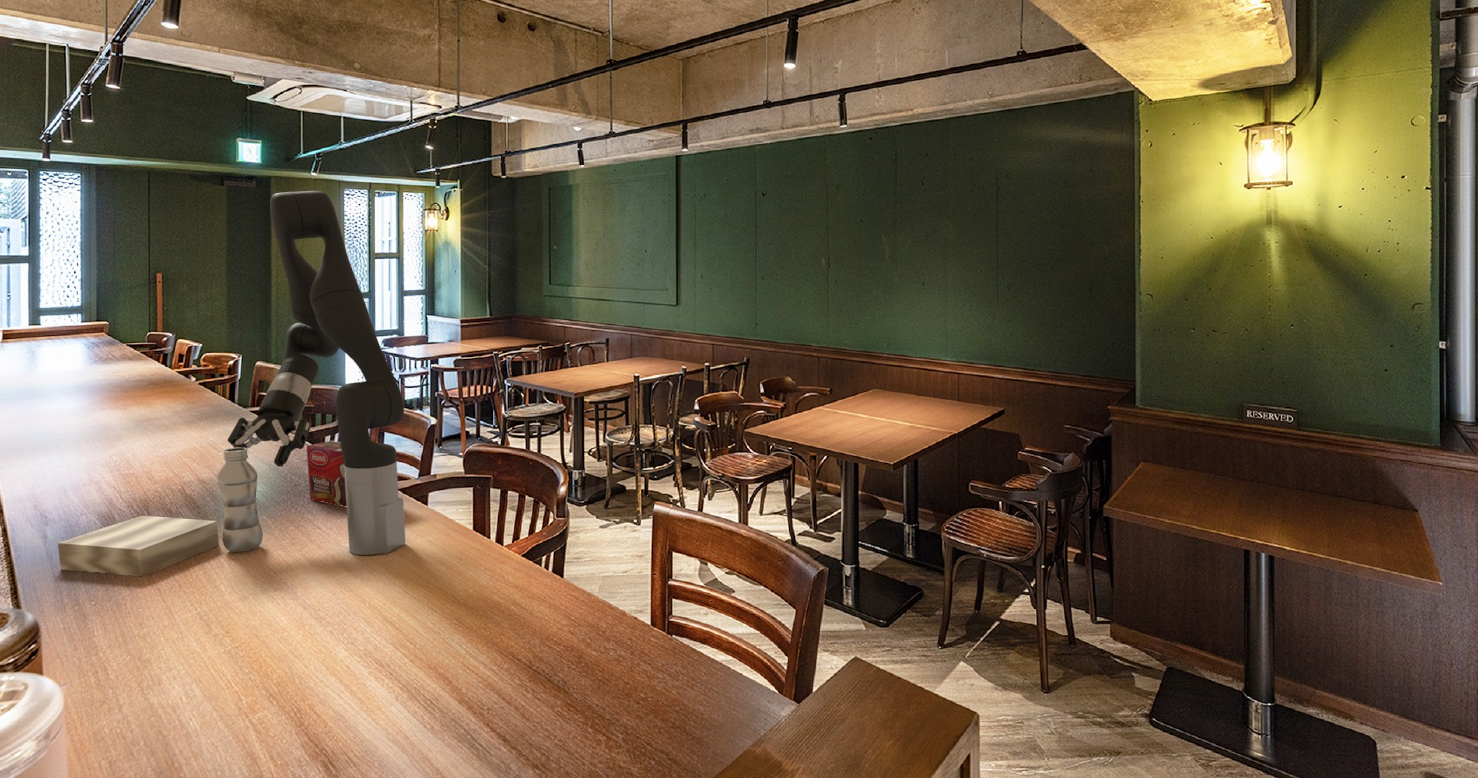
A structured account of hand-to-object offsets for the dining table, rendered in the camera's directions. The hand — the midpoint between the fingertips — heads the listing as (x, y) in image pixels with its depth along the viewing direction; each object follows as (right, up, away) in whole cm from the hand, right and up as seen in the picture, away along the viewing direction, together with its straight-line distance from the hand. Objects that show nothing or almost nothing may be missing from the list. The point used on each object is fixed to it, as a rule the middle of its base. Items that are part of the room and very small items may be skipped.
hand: (256, 464), depth 147 cm
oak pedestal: (-16, -17, -8) cm, 25 cm away
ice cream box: (+4, -12, +28) cm, 31 cm away
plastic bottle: (0, -17, -3) cm, 17 cm away
